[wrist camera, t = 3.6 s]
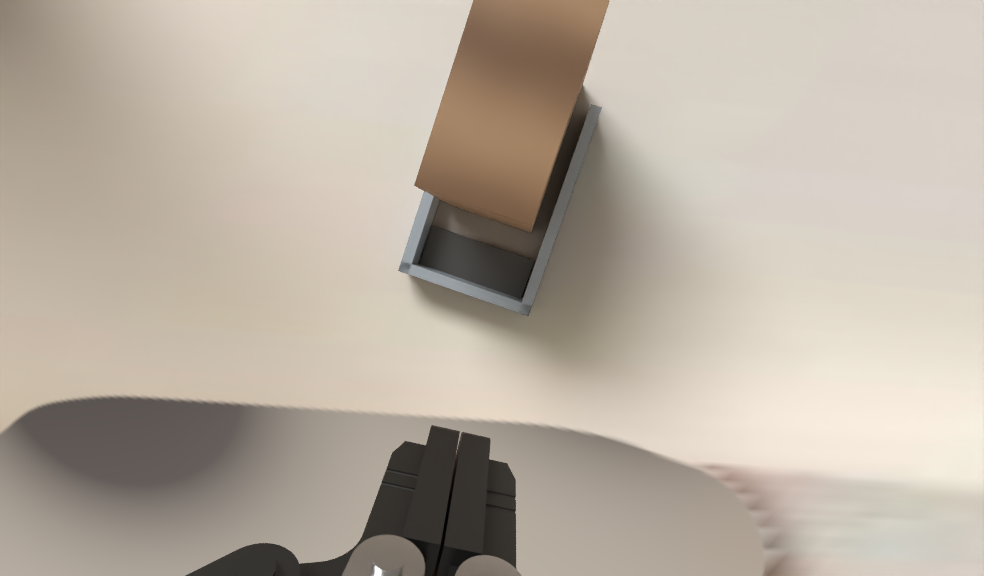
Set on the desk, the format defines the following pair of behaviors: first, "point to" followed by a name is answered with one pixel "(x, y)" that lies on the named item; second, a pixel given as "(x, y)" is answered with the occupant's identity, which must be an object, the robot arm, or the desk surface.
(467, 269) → the grey open-top box
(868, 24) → the desk surface
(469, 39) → the walnut block
